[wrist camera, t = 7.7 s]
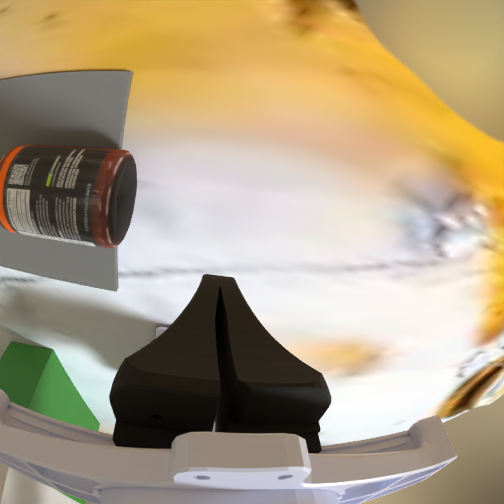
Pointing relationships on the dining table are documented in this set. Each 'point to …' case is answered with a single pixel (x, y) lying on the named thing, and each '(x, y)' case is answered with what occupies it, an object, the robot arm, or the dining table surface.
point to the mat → (69, 134)
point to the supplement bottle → (68, 193)
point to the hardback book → (44, 402)
